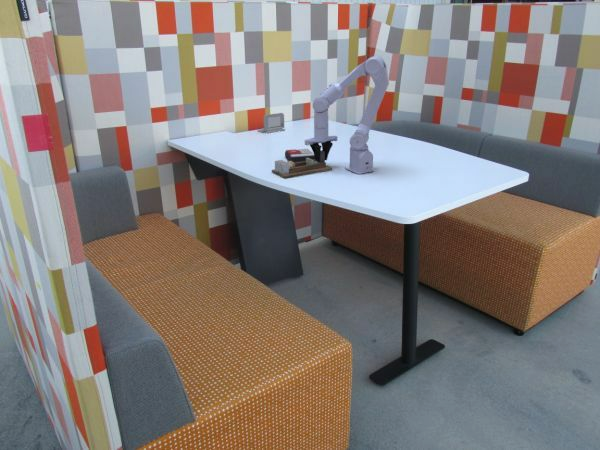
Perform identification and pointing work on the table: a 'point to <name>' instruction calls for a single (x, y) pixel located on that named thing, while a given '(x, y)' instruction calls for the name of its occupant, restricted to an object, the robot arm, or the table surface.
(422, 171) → the table surface
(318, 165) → the base
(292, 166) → the ball
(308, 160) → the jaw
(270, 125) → the handheld gaming console
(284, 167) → the anvil
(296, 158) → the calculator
